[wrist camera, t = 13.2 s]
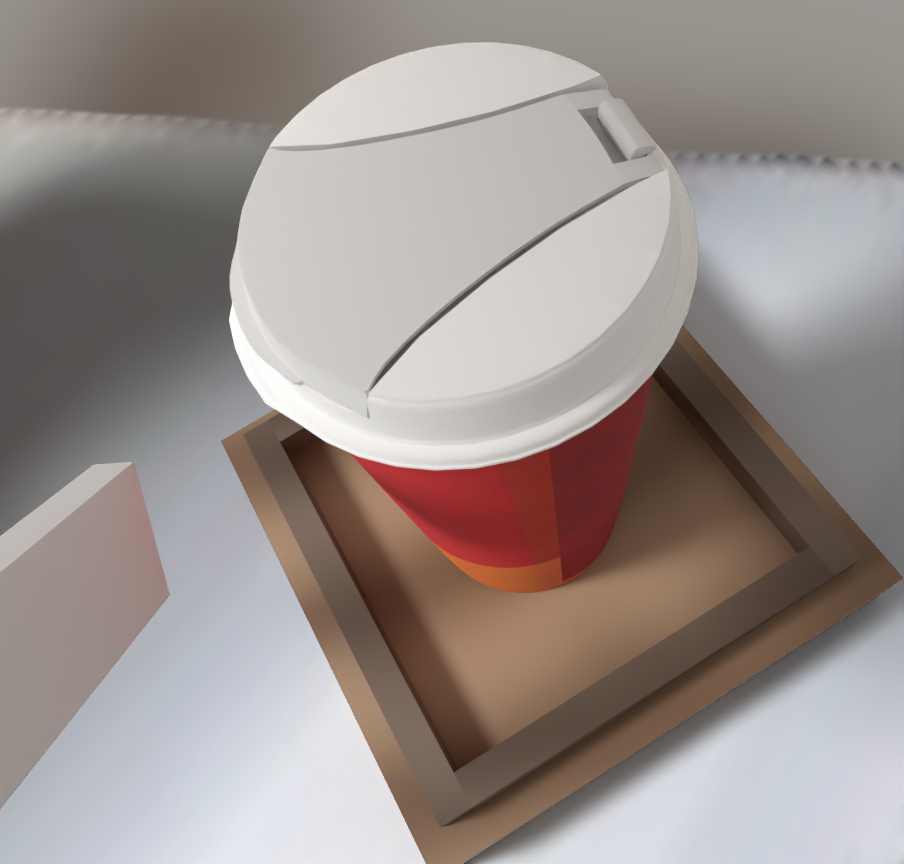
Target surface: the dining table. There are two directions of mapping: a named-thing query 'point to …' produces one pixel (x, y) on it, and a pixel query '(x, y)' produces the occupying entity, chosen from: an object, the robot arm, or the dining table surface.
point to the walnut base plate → (559, 606)
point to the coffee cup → (470, 295)
